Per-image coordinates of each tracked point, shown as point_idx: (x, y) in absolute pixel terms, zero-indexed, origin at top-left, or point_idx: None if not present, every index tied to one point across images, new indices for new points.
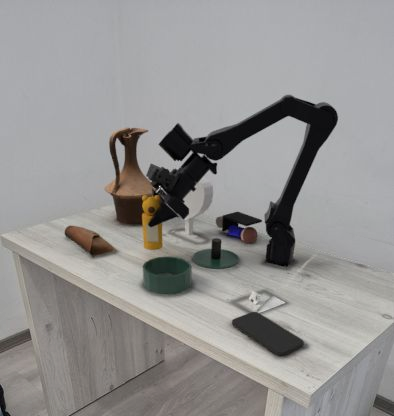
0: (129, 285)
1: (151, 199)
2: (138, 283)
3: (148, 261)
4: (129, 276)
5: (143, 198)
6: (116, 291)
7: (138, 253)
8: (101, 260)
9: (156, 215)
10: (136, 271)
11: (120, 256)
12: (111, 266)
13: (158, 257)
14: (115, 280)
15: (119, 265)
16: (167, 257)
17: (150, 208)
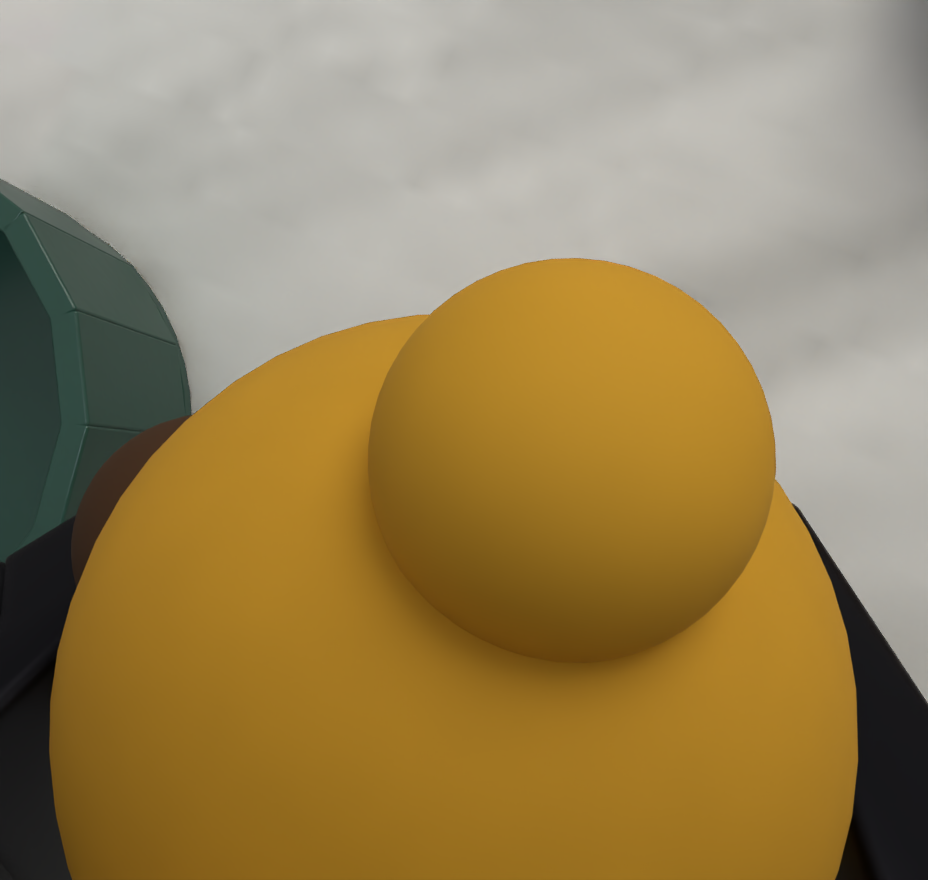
0: (124, 98)
1: (131, 680)
2: (123, 188)
3: (24, 260)
4: (300, 162)
5: (459, 294)
6: None
7: (831, 472)
8: (818, 17)
9: (3, 578)
10: (376, 267)
11: (836, 247)
12: (610, 71)
13: (78, 423)
14: (278, 11)
15: (598, 156)
16: (33, 529)
17: (97, 472)
